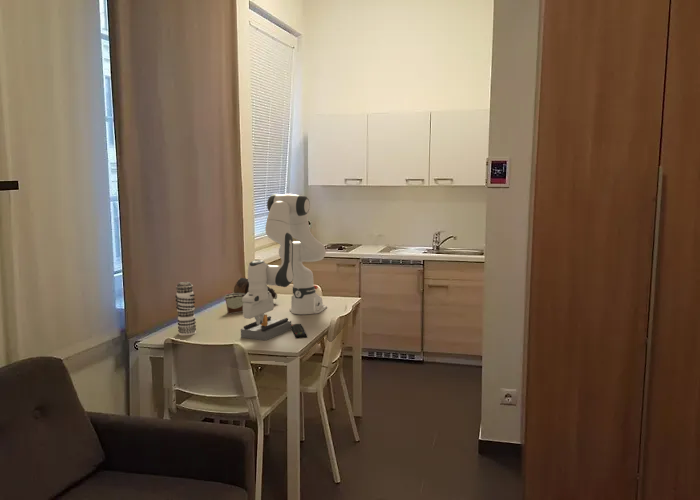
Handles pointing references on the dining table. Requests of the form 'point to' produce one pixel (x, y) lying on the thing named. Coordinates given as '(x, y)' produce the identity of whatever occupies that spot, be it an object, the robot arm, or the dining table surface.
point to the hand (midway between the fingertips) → (259, 323)
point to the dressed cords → (268, 325)
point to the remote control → (298, 331)
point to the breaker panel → (258, 334)
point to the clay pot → (243, 287)
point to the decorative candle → (185, 308)
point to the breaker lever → (264, 321)
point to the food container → (234, 302)
